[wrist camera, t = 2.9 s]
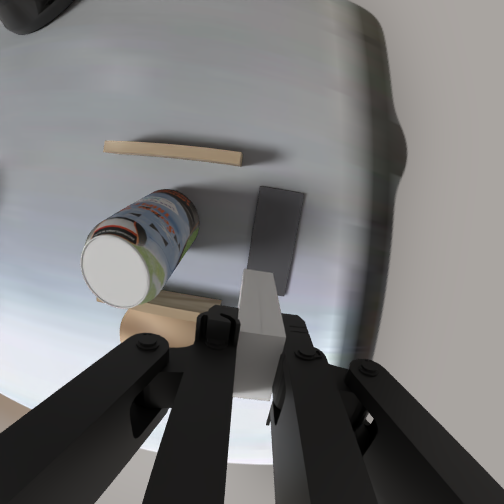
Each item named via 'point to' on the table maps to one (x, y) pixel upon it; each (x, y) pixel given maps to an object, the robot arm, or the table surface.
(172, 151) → the channel
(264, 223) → the pad
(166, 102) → the table surface
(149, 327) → the coaster
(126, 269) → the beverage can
